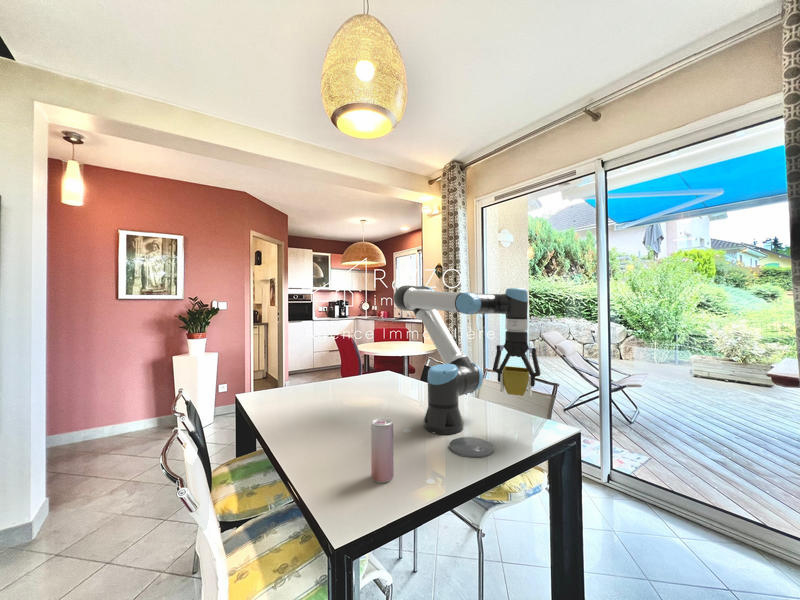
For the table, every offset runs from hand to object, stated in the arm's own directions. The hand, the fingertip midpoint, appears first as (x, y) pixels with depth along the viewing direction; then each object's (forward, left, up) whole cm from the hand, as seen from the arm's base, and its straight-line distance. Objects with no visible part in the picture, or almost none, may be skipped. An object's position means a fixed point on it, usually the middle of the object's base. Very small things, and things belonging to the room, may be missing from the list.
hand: (515, 393), depth 117 cm
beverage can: (-22, -51, -15) cm, 57 cm away
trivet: (-9, -20, -15) cm, 26 cm away
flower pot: (0, 0, 0) cm, 0 cm away
